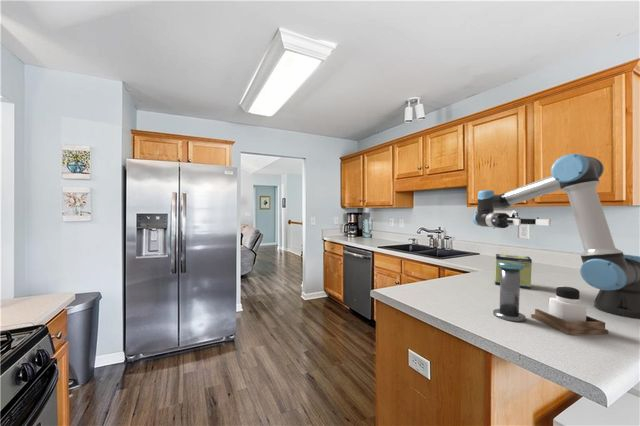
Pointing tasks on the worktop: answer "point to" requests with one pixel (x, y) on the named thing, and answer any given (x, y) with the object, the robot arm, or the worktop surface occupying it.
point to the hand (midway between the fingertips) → (534, 222)
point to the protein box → (524, 273)
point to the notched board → (571, 324)
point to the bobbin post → (509, 292)
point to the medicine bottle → (567, 305)
